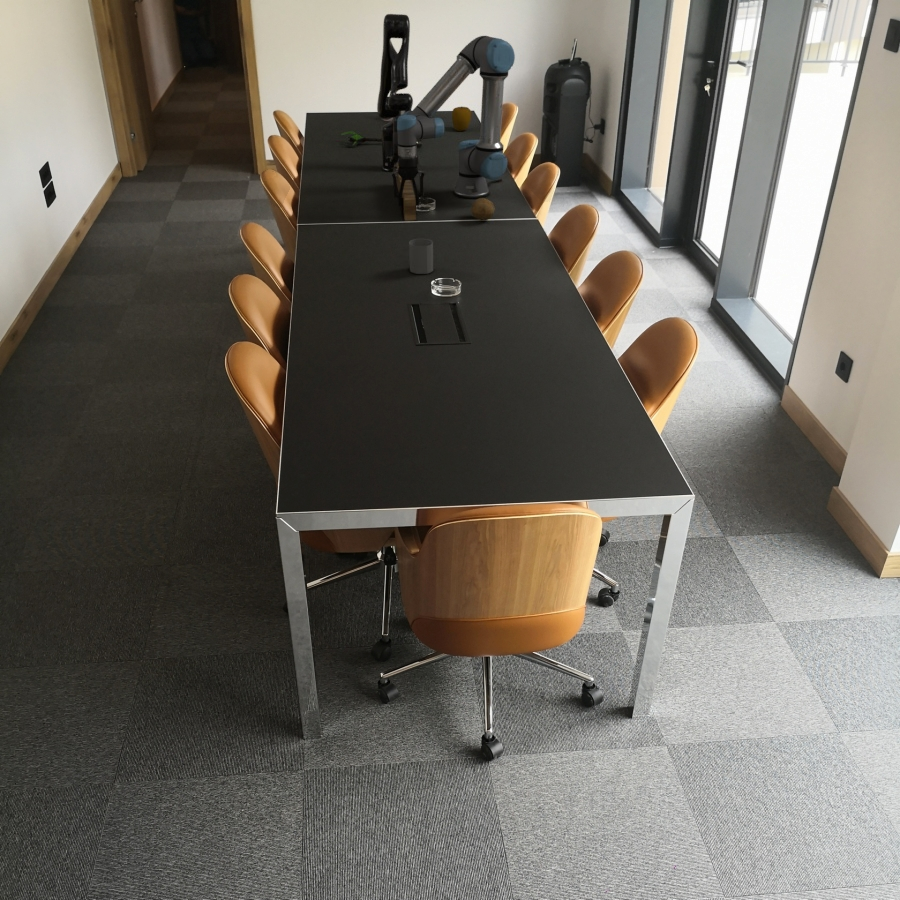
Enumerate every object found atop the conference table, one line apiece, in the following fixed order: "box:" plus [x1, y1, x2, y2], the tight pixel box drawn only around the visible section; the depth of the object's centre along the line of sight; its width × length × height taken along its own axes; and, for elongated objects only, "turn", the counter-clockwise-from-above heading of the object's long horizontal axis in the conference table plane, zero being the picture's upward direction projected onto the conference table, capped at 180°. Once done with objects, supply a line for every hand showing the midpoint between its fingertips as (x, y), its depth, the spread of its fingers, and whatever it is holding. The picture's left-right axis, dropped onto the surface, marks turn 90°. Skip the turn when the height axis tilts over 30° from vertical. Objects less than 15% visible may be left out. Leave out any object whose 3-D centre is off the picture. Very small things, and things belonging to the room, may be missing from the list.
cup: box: [408, 237, 434, 275], centre depth 305 cm, size 8×8×10 cm
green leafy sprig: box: [339, 131, 382, 148], centre depth 462 cm, size 6×13×30 cm
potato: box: [470, 197, 495, 221], centre depth 354 cm, size 10×14×8 cm
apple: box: [451, 105, 472, 132], centre depth 487 cm, size 11×11×13 cm
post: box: [396, 166, 417, 222], centre depth 374 cm, size 52×5×9 cm, turn 7°
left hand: (402, 180), depth 390 cm, fingers open, 6 cm apart
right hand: (409, 213), depth 361 cm, fingers closed on post, 5 cm apart
